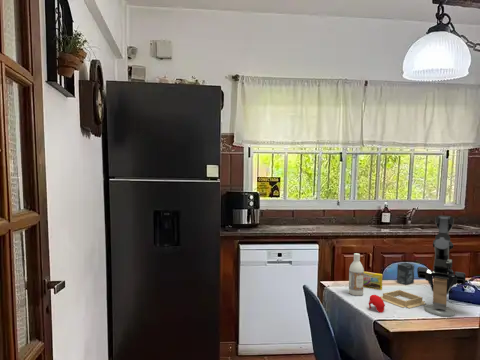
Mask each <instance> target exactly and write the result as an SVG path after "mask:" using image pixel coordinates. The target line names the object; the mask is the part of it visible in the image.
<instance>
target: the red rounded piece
mask: <svg viewBox="0 0 480 360" xmlns="http://www.w3.org/2000/svg"><path fill="white" fill-rule="evenodd" d="M384 302H385V301H383V300H382V299H381V298H380V296H379V295H377V294H372V295H371V294H370V296H369V301H368V307H369V309H370V310H371V309H372V305H373V306H374V307H375V309H376V311H377V312H378V313H381V314H382V313H383V312H385V306H386V304H385V303H384Z"/></svg>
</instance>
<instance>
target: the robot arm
mask: <svg viewBox="0 0 480 360" xmlns="http://www.w3.org/2000/svg"><path fill="white" fill-rule="evenodd" d="M434 220H435V222H434V223H435V225H436V228H437V229H438V234H436V235H435V237H434V238H435V239H433V242H432V248H434V262H433V270H430V269H428V267H424V266H418V267H417V272H416V273H417V278H419V279H424V280H425V281H427V282H428V283H429V286H430V288H431V289H430V290H431V292H433V280H434V278H441V279H447V295H448V293H450V292H449V291H450V290H451V289H452V287H453V286H454V285H455V286H456V285H458V284H459V285H466V278H467V277H466V276H467V275H466V273H465V272H461V271H453V259H450V252H451V250H453V249H454V244H453V242H452V241H451V236H450V235H449V233H450V232H451V230H452V229H453V226H454V222H455V218H454V217H452V216H451V215H438V216H435V219H434Z"/></svg>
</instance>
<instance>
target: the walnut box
mask: <svg viewBox="0 0 480 360" xmlns="http://www.w3.org/2000/svg"><path fill="white" fill-rule="evenodd" d="M447 295H448V294H447V279H441V278H434V277H433V291H432V304H433V308H438V309H443V310H446V307H448V305H447V298H448V297H447Z"/></svg>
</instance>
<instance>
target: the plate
mask: <svg viewBox="0 0 480 360" xmlns="http://www.w3.org/2000/svg"><path fill="white" fill-rule="evenodd" d="M423 307H424V308H423V309H424V311H425V312H427V313H428V314H430V315H434V316H436V317H437V316H438V317H443V318H444V317H445V318H451V317H455V316H456V314H457V313H456V310H455V309H453V308H452V307H448V306H447V307H446V310H443V309H438V308H433V303H430V304H425V305H423Z"/></svg>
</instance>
